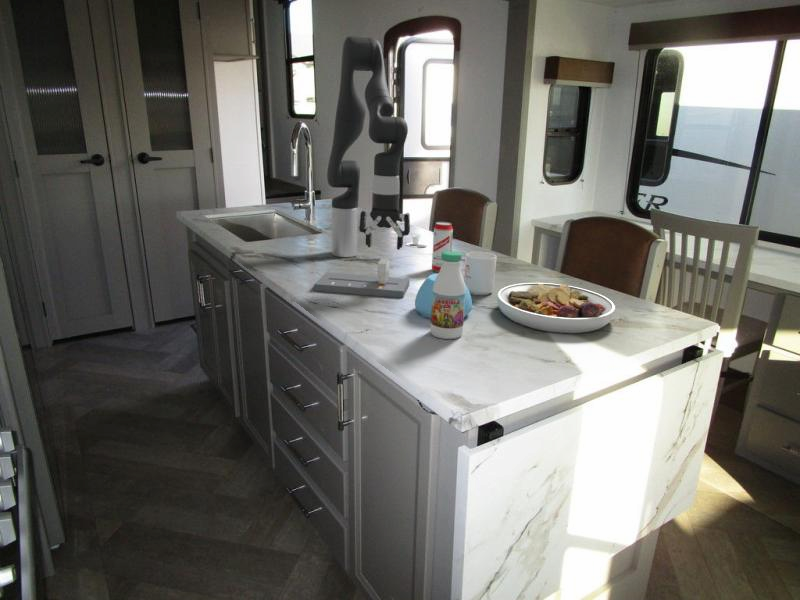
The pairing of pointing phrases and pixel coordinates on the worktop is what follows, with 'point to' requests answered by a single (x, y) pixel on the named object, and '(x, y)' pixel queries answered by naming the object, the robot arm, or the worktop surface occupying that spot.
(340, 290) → the slider console
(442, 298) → the milk bottle
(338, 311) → the worktop surface
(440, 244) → the beer can
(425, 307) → the sugar bowl
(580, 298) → the bowl
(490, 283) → the mug
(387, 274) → the fader tab
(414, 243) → the teacup and saucer
